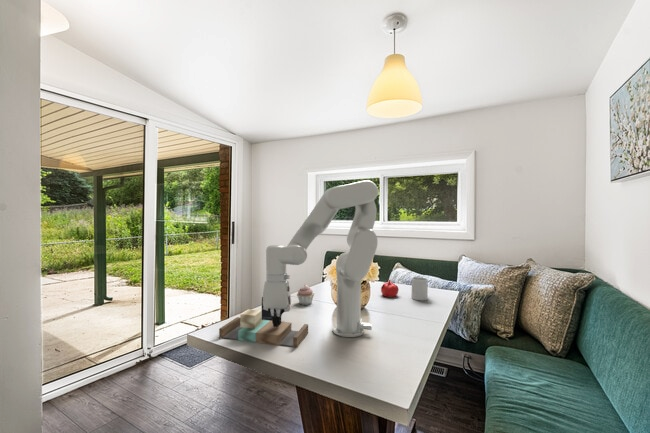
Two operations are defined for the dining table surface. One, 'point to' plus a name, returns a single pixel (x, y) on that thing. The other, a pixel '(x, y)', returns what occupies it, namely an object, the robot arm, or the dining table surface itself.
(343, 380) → the dining table surface
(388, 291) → the pomegranate
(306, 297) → the cupcake
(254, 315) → the beech block
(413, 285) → the mug
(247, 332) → the board
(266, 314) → the small box
